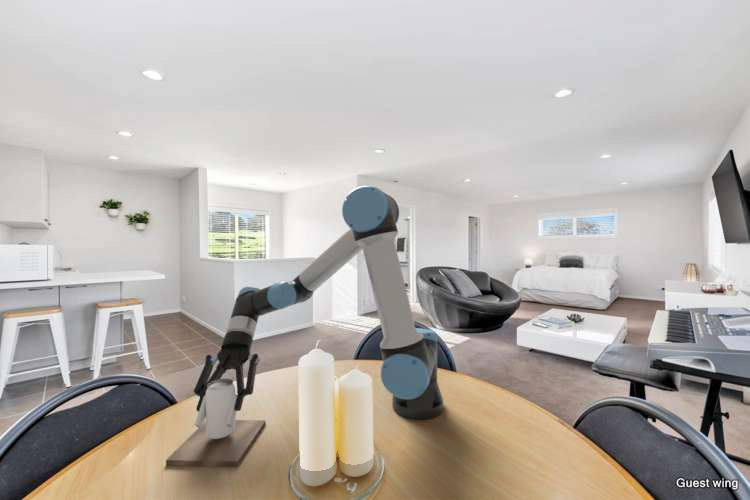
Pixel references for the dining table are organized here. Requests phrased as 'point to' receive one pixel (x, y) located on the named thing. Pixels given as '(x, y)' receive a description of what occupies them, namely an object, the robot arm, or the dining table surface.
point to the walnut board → (217, 446)
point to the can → (219, 408)
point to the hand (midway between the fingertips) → (214, 425)
